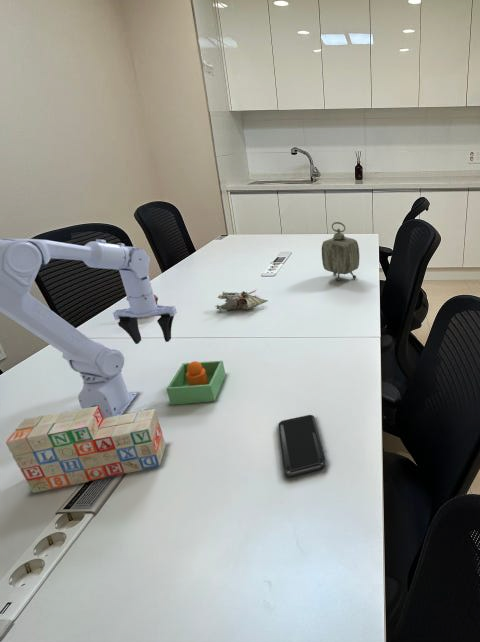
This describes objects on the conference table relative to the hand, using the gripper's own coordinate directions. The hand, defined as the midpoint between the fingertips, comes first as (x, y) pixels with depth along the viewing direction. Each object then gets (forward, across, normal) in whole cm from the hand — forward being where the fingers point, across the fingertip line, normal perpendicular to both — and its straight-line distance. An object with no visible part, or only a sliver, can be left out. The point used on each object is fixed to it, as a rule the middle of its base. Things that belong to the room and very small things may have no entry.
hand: (153, 341), depth 102 cm
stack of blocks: (+10, -2, +34) cm, 35 cm away
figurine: (+10, -14, -41) cm, 44 cm away
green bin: (+9, -13, +10) cm, 19 cm away
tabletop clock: (+10, -51, -66) cm, 84 cm away
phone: (+9, -40, +33) cm, 53 cm away
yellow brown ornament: (+10, +21, -41) cm, 47 cm away
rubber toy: (+9, -13, +10) cm, 19 cm away
